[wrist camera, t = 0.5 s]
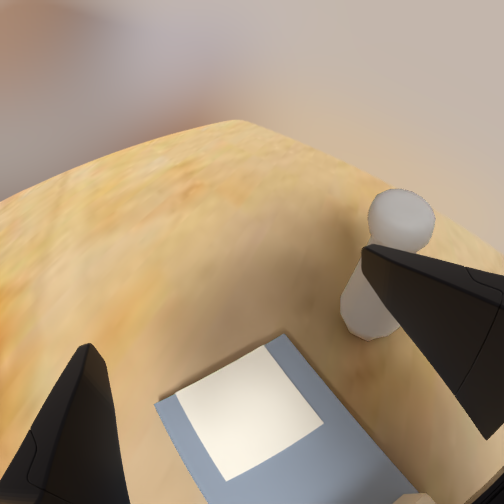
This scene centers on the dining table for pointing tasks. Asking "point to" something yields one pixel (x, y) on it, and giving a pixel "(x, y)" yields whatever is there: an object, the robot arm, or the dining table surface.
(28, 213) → the dining table surface
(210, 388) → the board
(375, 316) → the salt shaker
